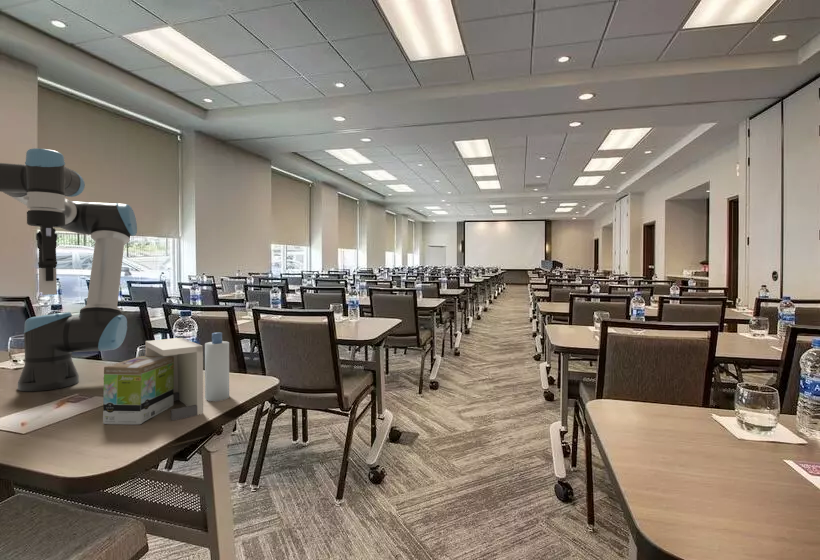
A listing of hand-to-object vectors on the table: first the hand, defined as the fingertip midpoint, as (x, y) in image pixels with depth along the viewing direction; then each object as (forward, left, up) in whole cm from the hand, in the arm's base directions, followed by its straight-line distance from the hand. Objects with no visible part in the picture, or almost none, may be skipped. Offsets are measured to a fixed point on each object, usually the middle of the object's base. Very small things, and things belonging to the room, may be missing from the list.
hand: (47, 293), depth 110 cm
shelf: (+14, +25, -33) cm, 43 cm away
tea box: (+13, +18, -33) cm, 40 cm away
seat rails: (+14, +25, -33) cm, 43 cm away
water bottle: (+12, +38, -33) cm, 52 cm away
